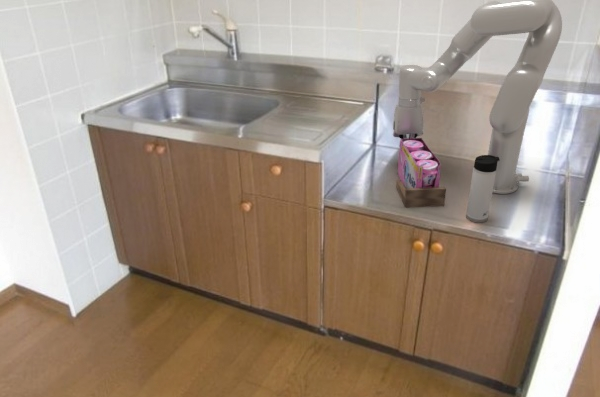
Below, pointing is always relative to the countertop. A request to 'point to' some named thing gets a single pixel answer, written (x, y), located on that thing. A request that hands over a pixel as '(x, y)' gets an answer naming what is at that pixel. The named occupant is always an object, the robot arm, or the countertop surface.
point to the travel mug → (481, 188)
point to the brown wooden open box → (421, 195)
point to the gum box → (418, 164)
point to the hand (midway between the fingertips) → (407, 150)
